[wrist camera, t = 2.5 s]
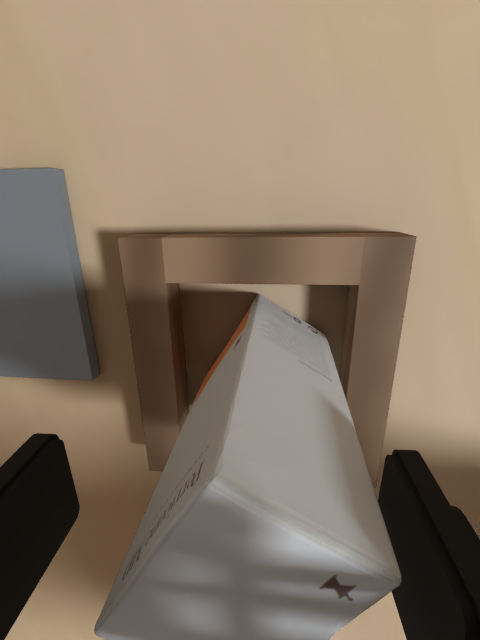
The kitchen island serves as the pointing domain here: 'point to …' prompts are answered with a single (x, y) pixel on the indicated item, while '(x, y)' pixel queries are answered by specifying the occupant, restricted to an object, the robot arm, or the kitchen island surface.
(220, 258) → the pocket holder
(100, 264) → the kitchen island surface
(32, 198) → the slate mat
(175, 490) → the skincare box
